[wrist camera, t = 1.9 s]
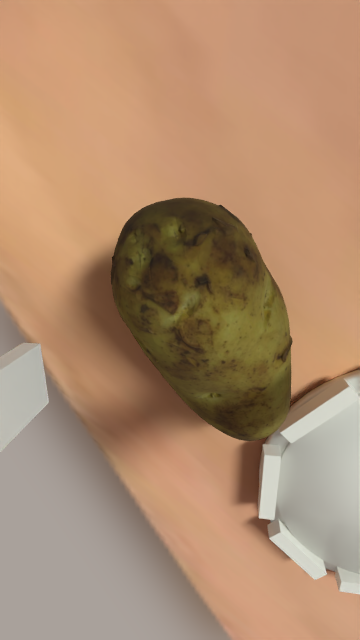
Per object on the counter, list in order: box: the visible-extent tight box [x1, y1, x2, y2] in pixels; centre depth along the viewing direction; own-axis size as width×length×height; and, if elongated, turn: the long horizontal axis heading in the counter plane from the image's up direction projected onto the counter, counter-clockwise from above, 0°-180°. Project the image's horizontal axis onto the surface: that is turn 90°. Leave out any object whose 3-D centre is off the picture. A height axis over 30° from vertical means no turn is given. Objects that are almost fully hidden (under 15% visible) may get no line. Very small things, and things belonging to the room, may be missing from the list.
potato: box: [111, 198, 292, 441], centre depth 15 cm, size 8×13×8 cm, turn 4°
